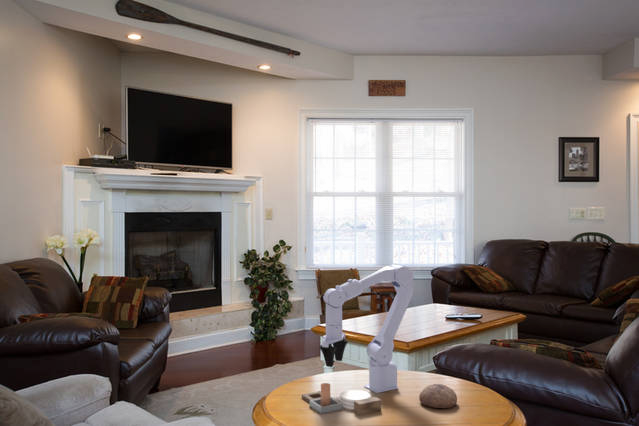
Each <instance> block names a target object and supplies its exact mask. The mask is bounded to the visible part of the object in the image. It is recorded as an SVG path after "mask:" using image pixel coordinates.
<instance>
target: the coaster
mask: <svg viewBox="0 0 639 426" xmlns="http://www.w3.org/2000/svg"><path fill="white" fill-rule="evenodd" d="M368 398H372V395H371V394H370V393H369V392H367V391H365V390H361V389H349V390H344V391H342V392H341V393H340V395H339V402H340V403H342V409H346V410H349V411H350V410H353V411H354V401H358V400H363V399H368Z"/></svg>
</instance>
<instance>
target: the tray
mask: <svg viewBox="0 0 639 426" xmlns="http://www.w3.org/2000/svg"><path fill="white" fill-rule="evenodd" d="M318 398H319V399H315V398H313V399H314V400H310V403H309V407H310V408H311V409H313V410H314V411H315V412H317V413H319V414H320V415H322V414H323V415H324V414H328V413H333V412H338V411H343V407H342V403H340V400H337V399H335V398H334V397H332V396H331V395H330V405H328V406H324V407H321V398H320V397H318Z"/></svg>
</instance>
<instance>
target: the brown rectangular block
mask: <svg viewBox="0 0 639 426" xmlns="http://www.w3.org/2000/svg"><path fill="white" fill-rule="evenodd" d="M381 411H382V399H380V397H379V398H378V397H377V396H374V397H371V398H368V399H363V400H358V401H354V410H353V412H354V413H355V414H356V415H357V416H363V415H368V414H373V413H377V412H381Z"/></svg>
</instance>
